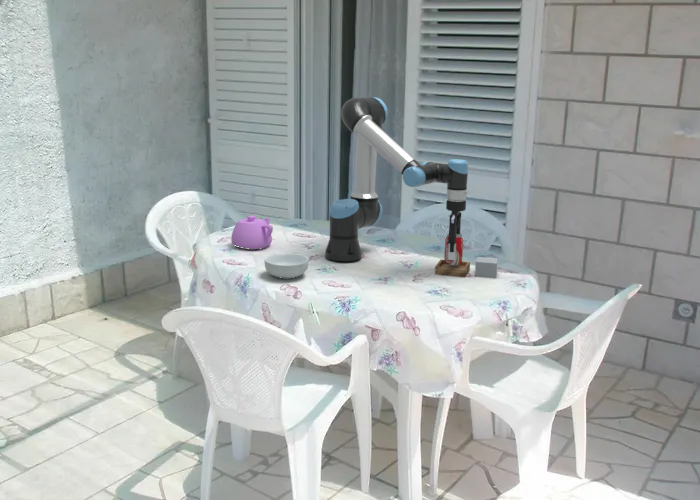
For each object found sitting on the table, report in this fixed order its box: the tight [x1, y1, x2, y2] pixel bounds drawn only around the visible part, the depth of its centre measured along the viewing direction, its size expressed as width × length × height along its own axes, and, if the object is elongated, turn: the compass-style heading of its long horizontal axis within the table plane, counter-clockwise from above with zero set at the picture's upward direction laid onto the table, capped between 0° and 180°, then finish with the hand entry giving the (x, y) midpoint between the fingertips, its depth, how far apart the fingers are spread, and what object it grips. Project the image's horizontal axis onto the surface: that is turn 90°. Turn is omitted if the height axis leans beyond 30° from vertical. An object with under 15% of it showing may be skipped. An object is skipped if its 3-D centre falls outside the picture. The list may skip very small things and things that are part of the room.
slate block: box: [474, 256, 499, 279], centre depth 291 cm, size 8×8×6 cm
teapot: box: [230, 215, 274, 250], centre depth 321 cm, size 20×20×15 cm
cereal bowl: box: [264, 252, 309, 279], centre depth 284 cm, size 17×17×7 cm
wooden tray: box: [434, 259, 471, 278], centre depth 294 cm, size 12×12×4 cm
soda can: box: [443, 233, 464, 266], centre depth 293 cm, size 7×7×12 cm
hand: (453, 257), depth 293 cm, fingers closed on soda can, 7 cm apart
